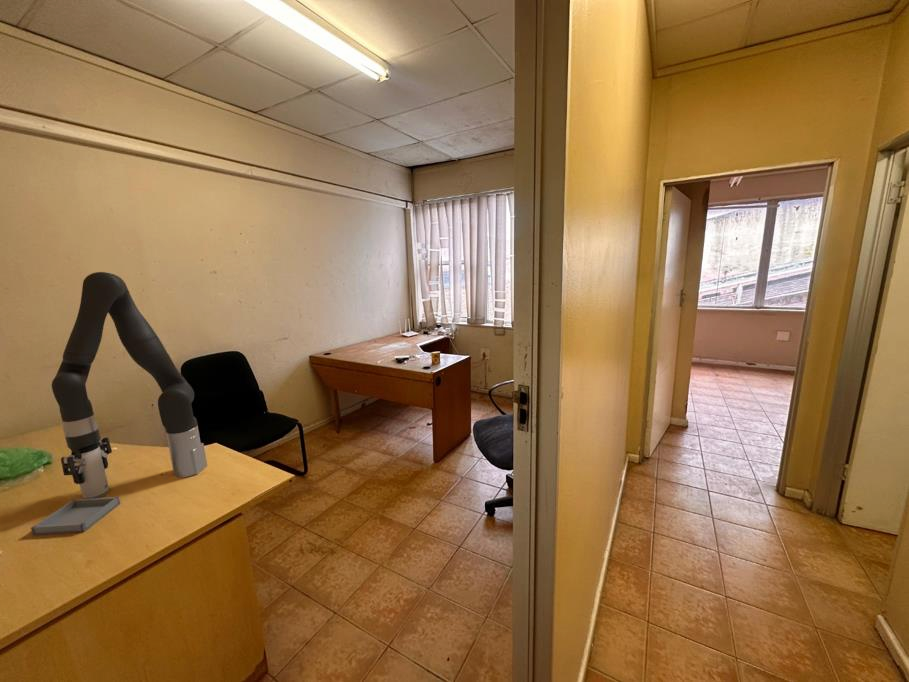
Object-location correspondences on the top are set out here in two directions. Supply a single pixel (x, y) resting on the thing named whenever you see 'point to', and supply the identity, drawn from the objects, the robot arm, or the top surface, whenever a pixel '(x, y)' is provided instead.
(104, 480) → the travel mug
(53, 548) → the top surface
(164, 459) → the top surface
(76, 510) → the tray
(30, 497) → the top surface
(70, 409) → the robot arm
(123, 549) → the top surface
